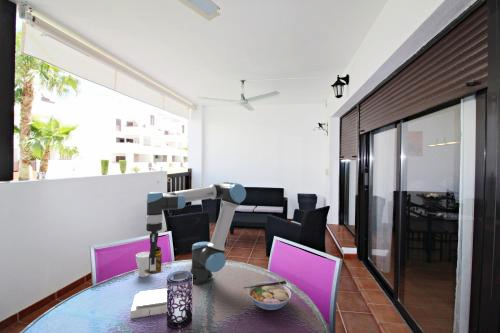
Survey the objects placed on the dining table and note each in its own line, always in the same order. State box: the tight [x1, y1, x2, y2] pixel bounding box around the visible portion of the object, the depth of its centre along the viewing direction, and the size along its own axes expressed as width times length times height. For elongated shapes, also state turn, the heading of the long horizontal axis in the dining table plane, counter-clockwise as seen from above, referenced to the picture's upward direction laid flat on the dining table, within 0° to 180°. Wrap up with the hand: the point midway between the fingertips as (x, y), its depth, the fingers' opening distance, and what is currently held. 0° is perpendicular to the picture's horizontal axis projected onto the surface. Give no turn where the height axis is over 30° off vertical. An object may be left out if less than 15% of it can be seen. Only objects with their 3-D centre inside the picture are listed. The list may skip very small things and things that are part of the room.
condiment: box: [143, 245, 164, 277], centre depth 124 cm, size 7×8×12 cm
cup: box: [135, 251, 150, 278], centre depth 159 cm, size 10×10×14 cm
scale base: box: [130, 293, 167, 319], centre depth 123 cm, size 18×17×4 cm
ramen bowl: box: [243, 280, 292, 311], centre depth 127 cm, size 25×23×8 cm
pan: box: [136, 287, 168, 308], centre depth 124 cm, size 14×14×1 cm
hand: (153, 267), depth 124 cm, fingers closed on condiment, 6 cm apart
